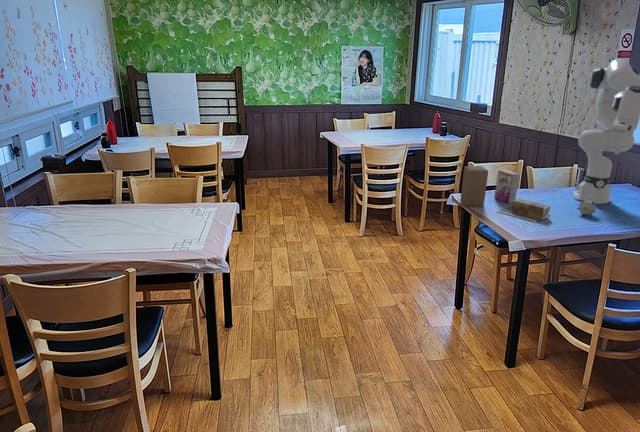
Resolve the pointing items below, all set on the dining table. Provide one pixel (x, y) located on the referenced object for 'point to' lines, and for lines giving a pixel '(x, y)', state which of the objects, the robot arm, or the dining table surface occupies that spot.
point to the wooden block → (474, 185)
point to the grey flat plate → (508, 212)
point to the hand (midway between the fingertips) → (617, 153)
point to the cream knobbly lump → (587, 207)
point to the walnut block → (530, 209)
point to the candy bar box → (506, 186)
